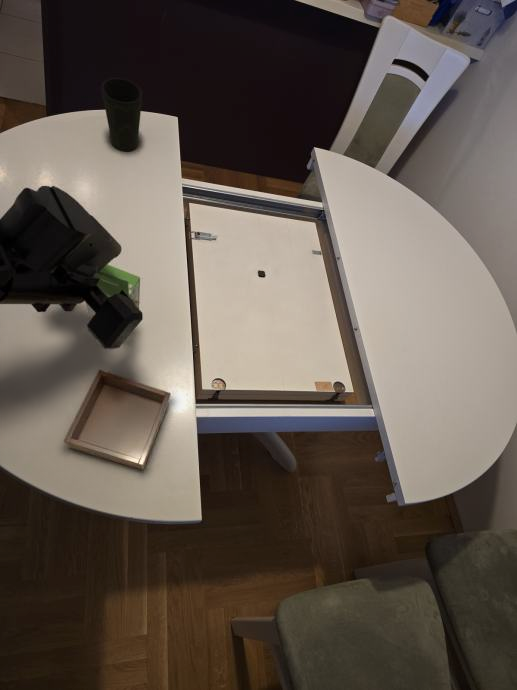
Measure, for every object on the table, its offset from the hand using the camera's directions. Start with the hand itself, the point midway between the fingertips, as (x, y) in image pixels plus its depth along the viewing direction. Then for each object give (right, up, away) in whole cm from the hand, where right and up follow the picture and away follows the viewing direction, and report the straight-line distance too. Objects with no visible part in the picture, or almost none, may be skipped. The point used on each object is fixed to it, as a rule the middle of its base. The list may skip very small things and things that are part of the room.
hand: (120, 285), depth 57 cm
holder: (-1, -21, +5) cm, 22 cm away
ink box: (-3, -4, +5) cm, 7 cm away
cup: (-10, +36, +30) cm, 48 cm away
